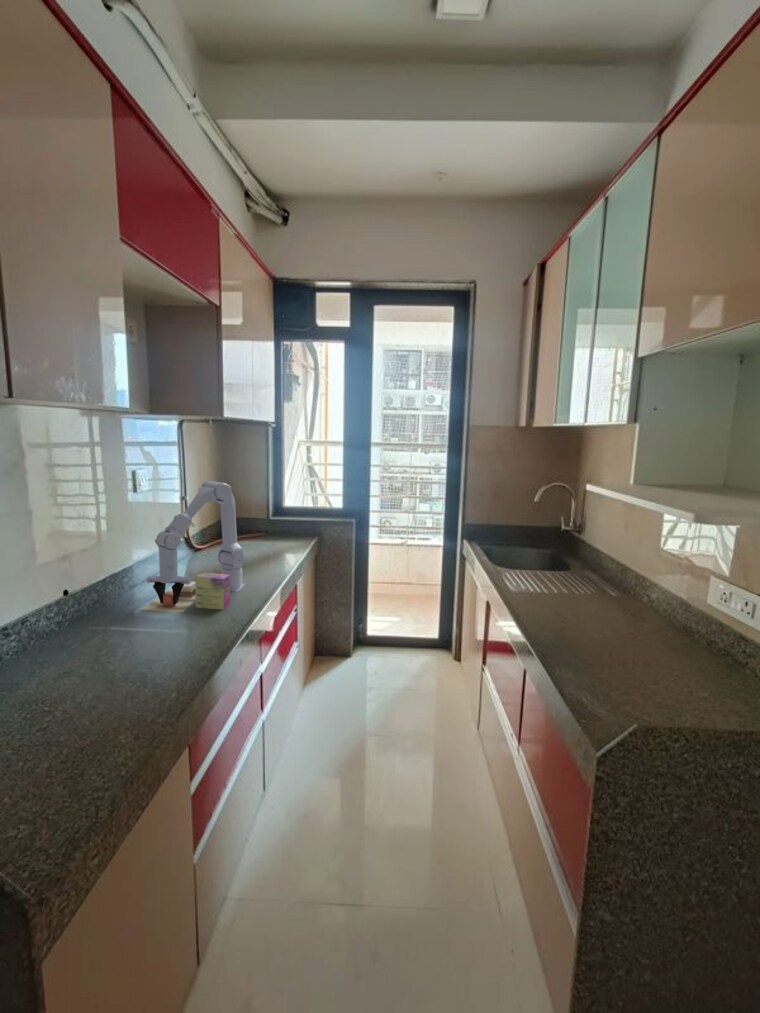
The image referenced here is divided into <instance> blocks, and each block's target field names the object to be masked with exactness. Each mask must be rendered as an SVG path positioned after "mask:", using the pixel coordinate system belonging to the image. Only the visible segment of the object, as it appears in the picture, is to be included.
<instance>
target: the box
mask: <svg viewBox="0 0 760 1013" xmlns="http://www.w3.org/2000/svg"><path fill="white" fill-rule="evenodd" d="M195 582H196V601H195V608H199V609H200V608H201V609H208V610H209V609H210V610H222V611H223V610H225V609H227V608H228V607H229V606H230V605H231V591H230V575H227V574H222V573H215V572H214V573H213V572H205V571H204V572H201V573H199V574H197V575H196V576H195Z"/></svg>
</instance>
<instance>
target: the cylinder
mask: <svg viewBox="0 0 760 1013" xmlns="http://www.w3.org/2000/svg"><path fill="white" fill-rule="evenodd" d="M175 605H176V604H174V603H173V592H168V593H166V592H165V593H164V594H163V606H164V607H172V606H175Z"/></svg>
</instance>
